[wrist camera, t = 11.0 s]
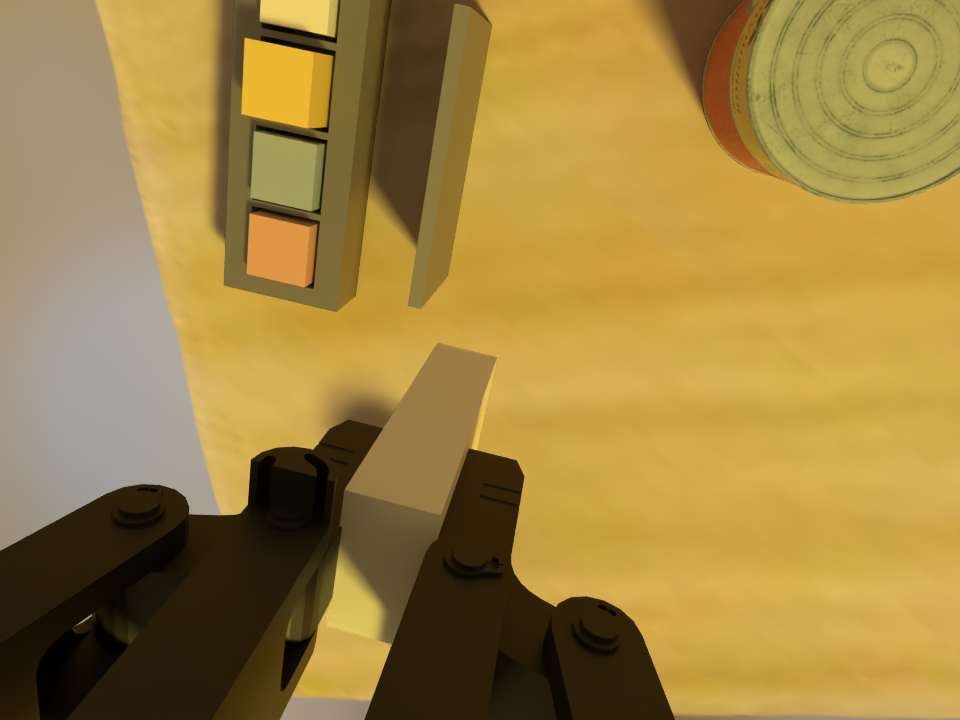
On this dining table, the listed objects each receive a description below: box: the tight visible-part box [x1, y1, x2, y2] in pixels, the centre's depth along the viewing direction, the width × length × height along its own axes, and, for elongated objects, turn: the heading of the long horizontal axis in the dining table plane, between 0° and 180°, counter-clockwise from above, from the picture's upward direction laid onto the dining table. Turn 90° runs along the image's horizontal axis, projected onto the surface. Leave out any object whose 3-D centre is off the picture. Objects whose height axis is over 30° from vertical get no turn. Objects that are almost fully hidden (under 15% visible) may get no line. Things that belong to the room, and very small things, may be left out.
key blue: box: [251, 130, 328, 211], centre depth 41 cm, size 4×4×4 cm
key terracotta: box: [247, 209, 320, 287], centre depth 43 cm, size 4×4×4 cm
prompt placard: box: [408, 4, 492, 309], centre depth 39 cm, size 16×1×8 cm, turn 169°
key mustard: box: [241, 38, 335, 128], centre depth 38 cm, size 4×4×4 cm
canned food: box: [702, 0, 960, 204], centre depth 32 cm, size 11×11×12 cm
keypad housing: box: [224, 0, 391, 312], centre depth 41 cm, size 22×8×4 cm, turn 169°
